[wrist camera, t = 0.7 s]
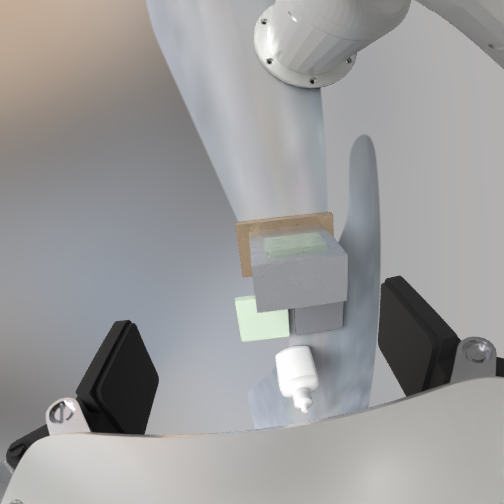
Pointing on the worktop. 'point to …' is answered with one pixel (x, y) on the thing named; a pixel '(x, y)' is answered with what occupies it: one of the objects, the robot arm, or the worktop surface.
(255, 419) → the worktop surface
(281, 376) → the eye dropper bottle
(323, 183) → the worktop surface
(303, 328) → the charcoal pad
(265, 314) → the sage pad
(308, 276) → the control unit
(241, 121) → the worktop surface
